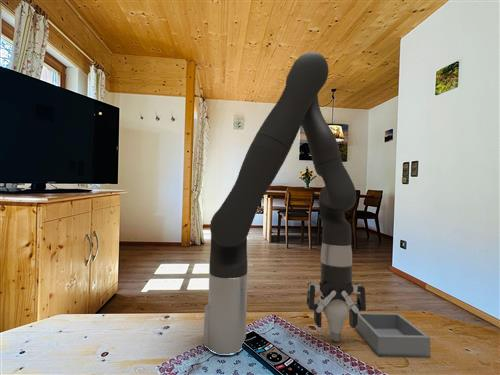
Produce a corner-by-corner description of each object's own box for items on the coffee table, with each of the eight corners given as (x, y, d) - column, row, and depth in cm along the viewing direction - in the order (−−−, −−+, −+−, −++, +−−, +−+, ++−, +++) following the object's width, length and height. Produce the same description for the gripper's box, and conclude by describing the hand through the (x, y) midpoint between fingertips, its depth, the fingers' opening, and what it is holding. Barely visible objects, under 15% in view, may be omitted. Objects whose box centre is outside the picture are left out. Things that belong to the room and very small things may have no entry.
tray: (378, 356, 57) (378, 336, 57) (355, 328, 69) (355, 312, 69) (430, 357, 57) (430, 337, 58) (398, 329, 69) (398, 313, 70)
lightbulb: (344, 335, 66) (344, 292, 66) (351, 349, 60) (352, 302, 60) (320, 333, 66) (321, 291, 67) (325, 347, 60) (325, 300, 61)
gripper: (312, 264, 60) (311, 334, 59) (371, 265, 60) (371, 334, 59) (304, 257, 67) (304, 318, 67) (357, 258, 68) (356, 319, 67)
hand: (335, 326), depth 63 cm, fingers open, 8 cm apart
